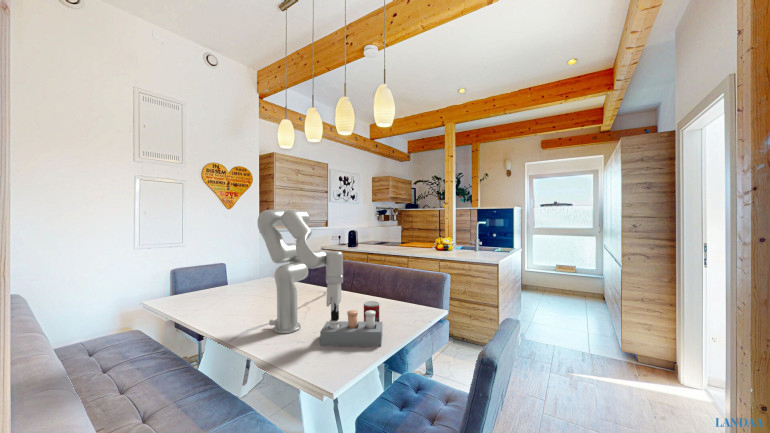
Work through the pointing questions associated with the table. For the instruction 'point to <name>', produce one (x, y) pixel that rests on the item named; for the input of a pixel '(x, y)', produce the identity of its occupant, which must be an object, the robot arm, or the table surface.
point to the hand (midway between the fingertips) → (335, 320)
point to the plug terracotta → (352, 319)
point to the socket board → (351, 335)
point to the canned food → (372, 306)
